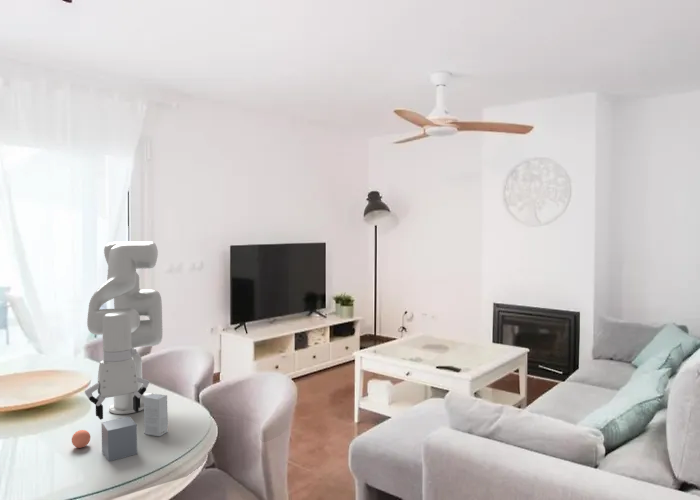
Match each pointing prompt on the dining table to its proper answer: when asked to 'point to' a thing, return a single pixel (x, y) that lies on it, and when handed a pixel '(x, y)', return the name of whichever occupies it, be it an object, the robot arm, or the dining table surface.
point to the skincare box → (155, 414)
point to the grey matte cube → (119, 438)
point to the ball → (81, 438)
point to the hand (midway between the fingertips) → (118, 414)
